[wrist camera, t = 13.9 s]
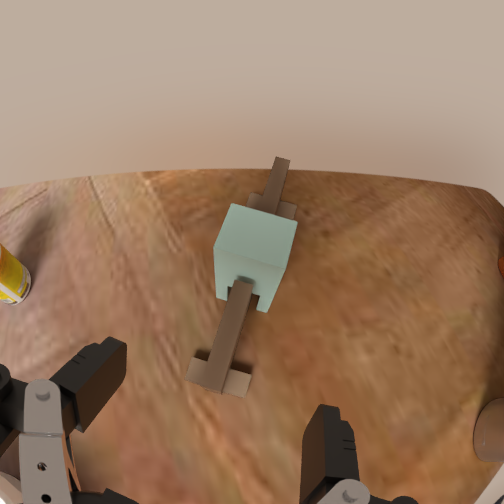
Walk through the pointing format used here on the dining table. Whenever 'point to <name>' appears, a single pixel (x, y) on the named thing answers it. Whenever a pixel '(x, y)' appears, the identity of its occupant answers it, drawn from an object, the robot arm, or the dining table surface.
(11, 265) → the supplement bottle
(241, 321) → the brown notched barrier
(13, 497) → the bowl
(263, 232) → the pale green rectangular block
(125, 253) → the dining table surface
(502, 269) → the whiskey bottle
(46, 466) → the robot arm
